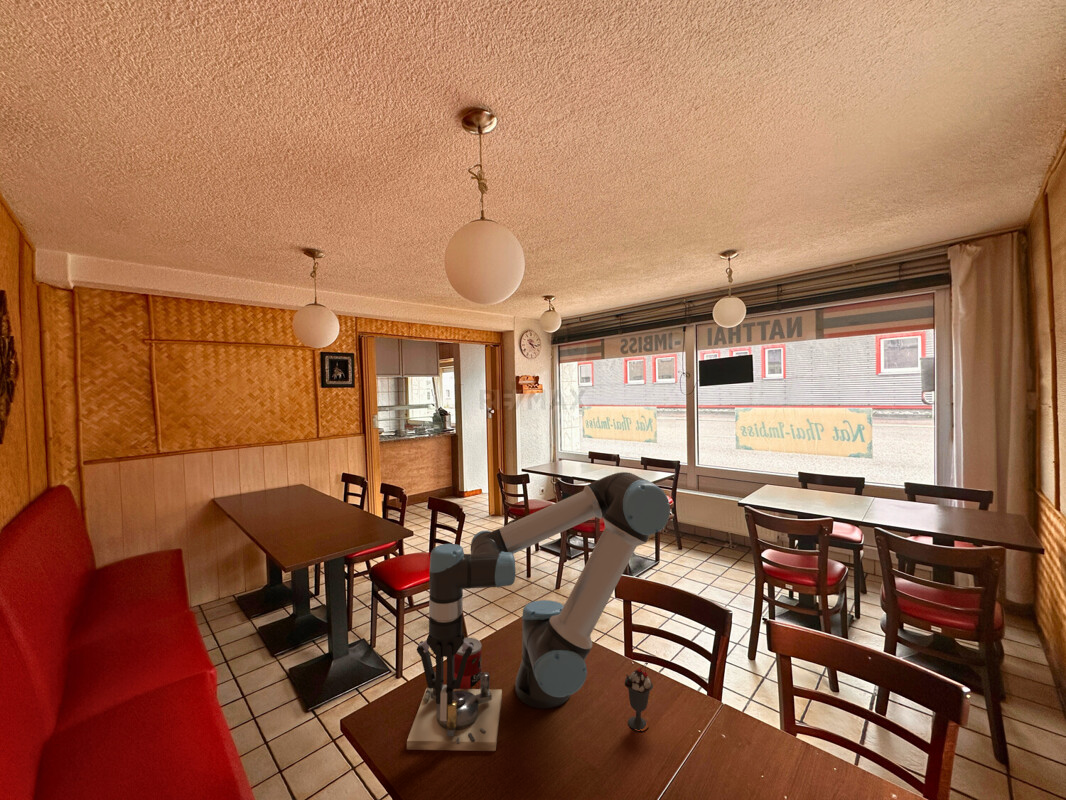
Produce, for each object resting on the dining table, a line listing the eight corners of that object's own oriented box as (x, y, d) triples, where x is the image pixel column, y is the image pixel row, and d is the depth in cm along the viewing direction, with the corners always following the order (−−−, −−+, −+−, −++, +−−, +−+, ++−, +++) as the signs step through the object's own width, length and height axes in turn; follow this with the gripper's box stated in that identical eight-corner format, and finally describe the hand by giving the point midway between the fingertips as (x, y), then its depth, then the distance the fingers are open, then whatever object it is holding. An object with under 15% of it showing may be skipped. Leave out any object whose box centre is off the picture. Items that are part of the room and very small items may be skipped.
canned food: (476, 696, 117) (476, 655, 117) (447, 691, 119) (448, 651, 118) (485, 677, 125) (485, 639, 124) (458, 673, 126) (458, 635, 126)
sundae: (657, 723, 108) (658, 663, 107) (643, 739, 103) (644, 676, 103) (633, 710, 112) (634, 652, 112) (619, 724, 107) (620, 663, 107)
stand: (501, 697, 117) (501, 683, 117) (495, 753, 98) (495, 738, 98) (426, 695, 117) (426, 682, 117) (405, 752, 99) (405, 736, 99)
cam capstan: (432, 696, 113) (432, 669, 113) (492, 698, 113) (492, 671, 112) (416, 738, 100) (416, 707, 100) (484, 740, 99) (484, 709, 99)
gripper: (476, 607, 105) (475, 705, 105) (422, 606, 105) (420, 704, 105) (471, 623, 97) (470, 729, 98) (413, 622, 97) (411, 728, 98)
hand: (444, 716), depth 101 cm, fingers closed
